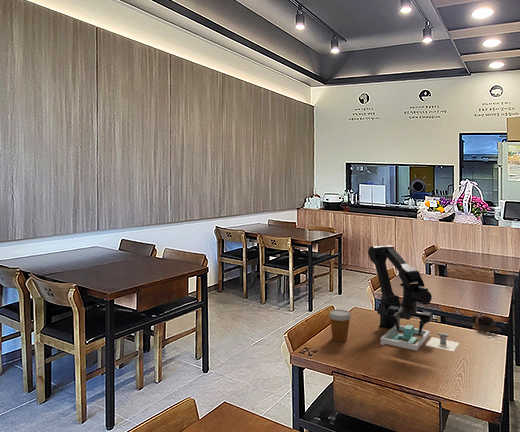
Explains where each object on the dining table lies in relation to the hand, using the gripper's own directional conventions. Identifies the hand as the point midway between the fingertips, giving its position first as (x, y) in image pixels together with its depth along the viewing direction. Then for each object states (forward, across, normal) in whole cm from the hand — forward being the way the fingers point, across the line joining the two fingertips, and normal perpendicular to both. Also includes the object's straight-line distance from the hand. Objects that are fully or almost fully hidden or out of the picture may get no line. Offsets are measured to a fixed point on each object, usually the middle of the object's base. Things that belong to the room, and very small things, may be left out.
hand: (408, 332), depth 193 cm
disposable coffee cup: (+3, -24, -18) cm, 31 cm away
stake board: (+2, +14, -2) cm, 15 cm away
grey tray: (+2, 0, -4) cm, 5 cm away
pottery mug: (+3, +25, +28) cm, 38 cm away
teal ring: (+2, 0, -5) cm, 5 cm away
